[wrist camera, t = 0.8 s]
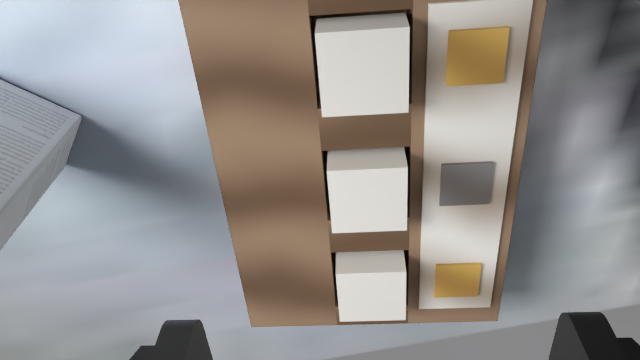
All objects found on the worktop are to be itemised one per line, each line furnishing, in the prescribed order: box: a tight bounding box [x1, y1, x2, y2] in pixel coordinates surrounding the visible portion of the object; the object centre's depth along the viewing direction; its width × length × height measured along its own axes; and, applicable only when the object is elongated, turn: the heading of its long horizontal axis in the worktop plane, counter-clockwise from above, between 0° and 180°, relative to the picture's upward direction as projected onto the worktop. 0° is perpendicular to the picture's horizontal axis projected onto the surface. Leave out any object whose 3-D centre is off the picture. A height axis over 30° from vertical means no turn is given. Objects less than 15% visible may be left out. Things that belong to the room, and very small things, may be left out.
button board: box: [178, 0, 547, 327], centre depth 30 cm, size 22×16×4 cm
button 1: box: [336, 250, 406, 322], centre depth 32 cm, size 4×4×2 cm
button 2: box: [315, 13, 410, 117], centre depth 25 cm, size 4×4×2 cm
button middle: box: [327, 147, 408, 233], centre depth 28 cm, size 4×4×2 cm
